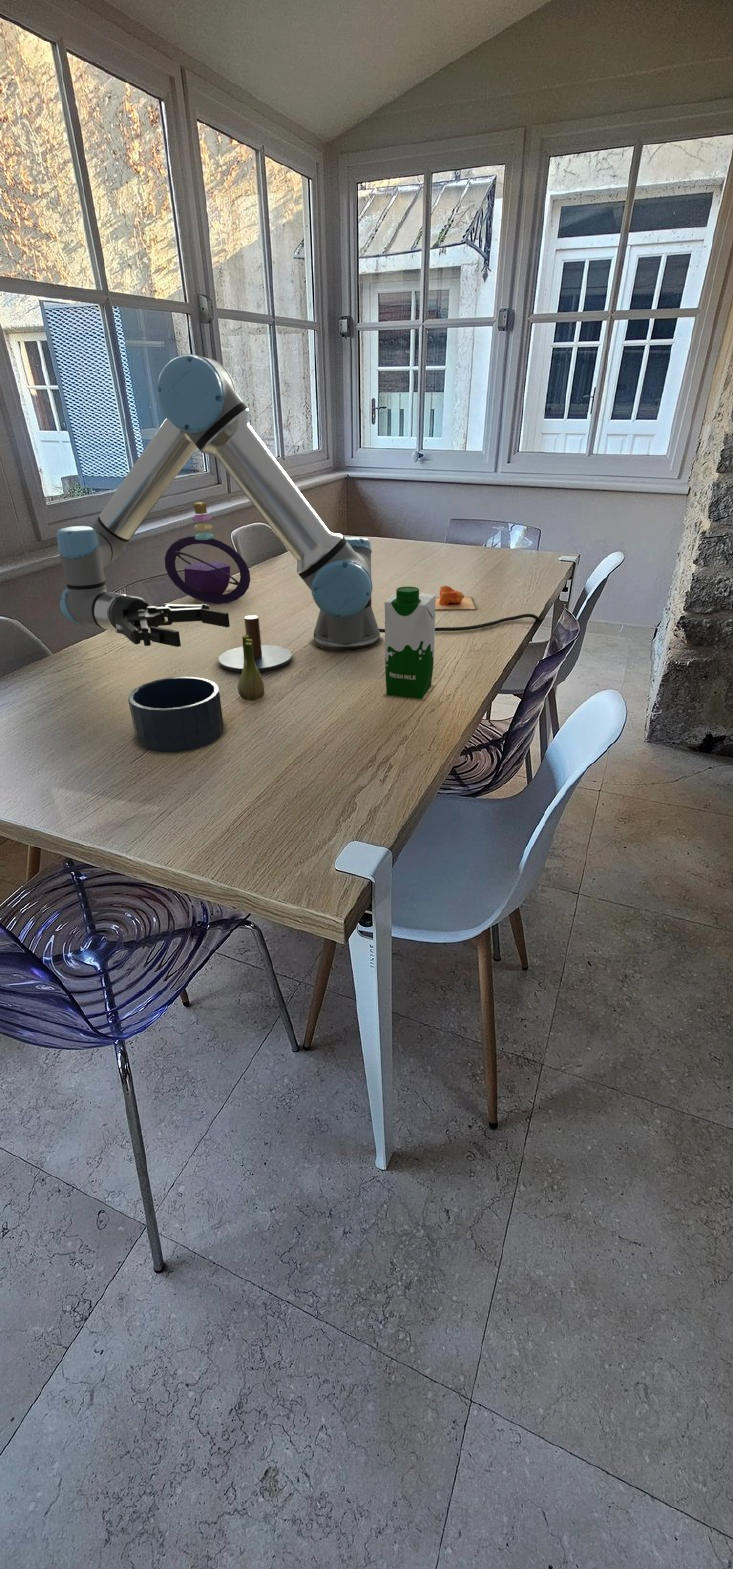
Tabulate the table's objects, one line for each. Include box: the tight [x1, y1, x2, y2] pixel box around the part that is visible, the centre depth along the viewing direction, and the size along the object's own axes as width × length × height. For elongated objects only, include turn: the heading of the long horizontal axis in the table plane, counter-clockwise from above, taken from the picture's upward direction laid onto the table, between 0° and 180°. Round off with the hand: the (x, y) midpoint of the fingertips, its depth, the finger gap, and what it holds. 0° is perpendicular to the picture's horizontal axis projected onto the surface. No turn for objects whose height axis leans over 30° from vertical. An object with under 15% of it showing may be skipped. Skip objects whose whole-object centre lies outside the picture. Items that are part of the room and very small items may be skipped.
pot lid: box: [218, 614, 293, 672], centre depth 148 cm, size 16×16×10 cm
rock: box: [435, 585, 476, 611], centre depth 187 cm, size 12×12×4 cm
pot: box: [127, 676, 225, 754], centre depth 118 cm, size 15×15×8 cm
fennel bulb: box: [237, 634, 265, 702], centre depth 129 cm, size 6×5×12 cm
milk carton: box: [383, 586, 437, 700], centre depth 130 cm, size 9×9×20 cm
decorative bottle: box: [164, 501, 251, 605], centre depth 193 cm, size 22×21×25 cm
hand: (204, 629), depth 131 cm, fingers open, 13 cm apart
